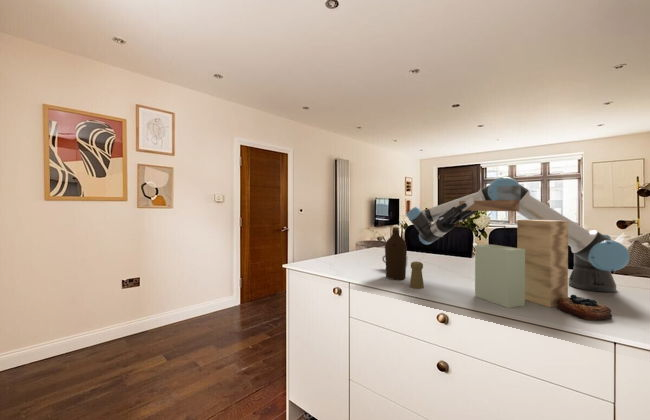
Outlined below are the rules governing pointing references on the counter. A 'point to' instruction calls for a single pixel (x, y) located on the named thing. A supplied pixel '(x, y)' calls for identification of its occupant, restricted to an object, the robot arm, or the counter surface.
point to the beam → (499, 200)
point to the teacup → (385, 261)
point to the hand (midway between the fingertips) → (477, 200)
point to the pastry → (584, 308)
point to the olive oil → (395, 256)
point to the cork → (416, 275)
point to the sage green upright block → (500, 274)
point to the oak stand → (544, 259)
